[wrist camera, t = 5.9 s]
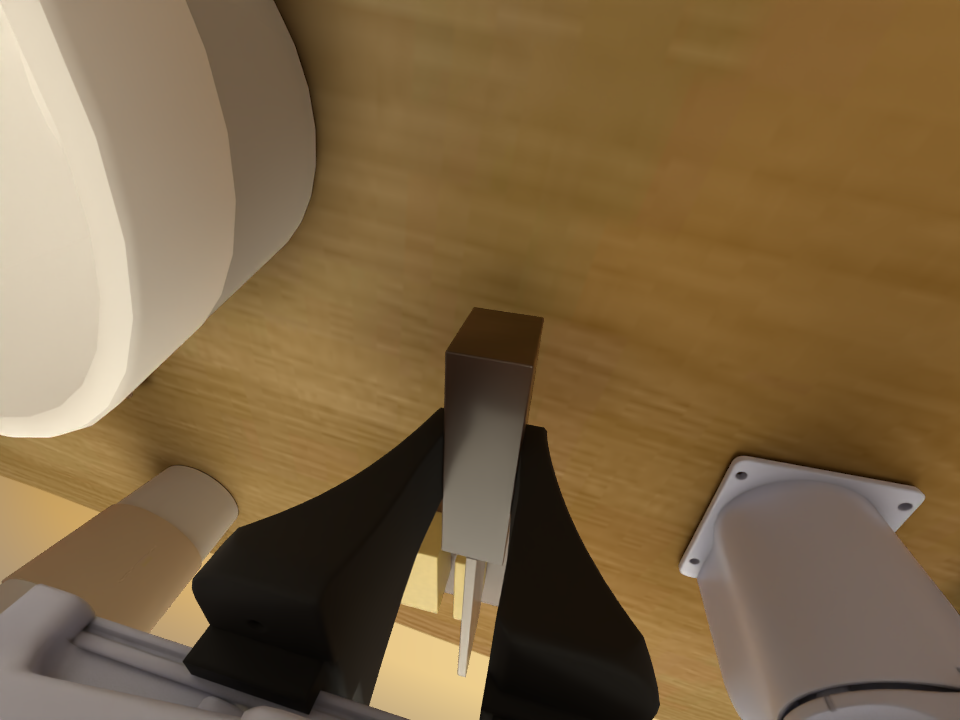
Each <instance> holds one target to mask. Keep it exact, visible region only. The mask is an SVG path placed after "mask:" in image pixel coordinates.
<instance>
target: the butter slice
mask: <svg viewBox="0 0 960 720" xmlns="http://www.w3.org/2000/svg"><path fill="white" fill-rule="evenodd" d="M465 565H466V557H465V556H461V555H457V556H456V560H455V573H454V601H453V618H455V619H458V620H461V619H462V606H463V592H464V579H465ZM486 566H487V562H486V563H485V571H484V580H483V587H484V583H485V576H486ZM482 592H483V589H482Z"/></svg>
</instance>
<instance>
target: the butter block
mask: <svg viewBox="0 0 960 720" xmlns="http://www.w3.org/2000/svg"><path fill="white" fill-rule="evenodd" d="M441 541H442V513H441V512H437V511H436V513H435V515H434V518H433V520H432V522H431V524H430V526H429V529H428V531H427V533H426V535H425V537H424V540H423V542H422V544H421V546H420V549H419V551H418V554H417V556H416V559H415V562H414V565H413V568H412V571H411V574H410V577H409V579H408V582H407V585H406V588H405V591H404V594H403V597H402V600H401V603H400V604H404V605H407V606H411V607H415V608H418V609H422V610H426V611H429V612H433V613H436V614H437V613H438V611H439V607H440V604H441V601H442V597H443V594H444V591H445V588H446V584H447V581H448V578H449V574H450V571H451V553H449V552H446V551H442V550H441Z"/></svg>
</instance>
